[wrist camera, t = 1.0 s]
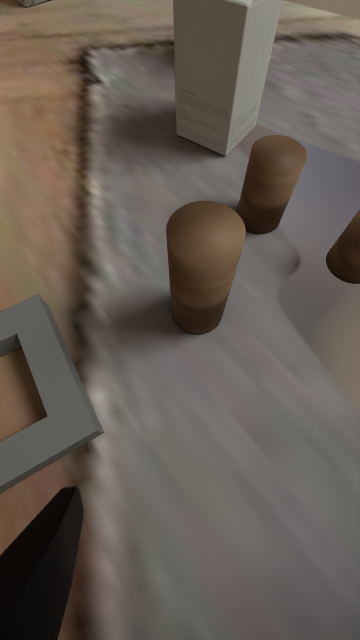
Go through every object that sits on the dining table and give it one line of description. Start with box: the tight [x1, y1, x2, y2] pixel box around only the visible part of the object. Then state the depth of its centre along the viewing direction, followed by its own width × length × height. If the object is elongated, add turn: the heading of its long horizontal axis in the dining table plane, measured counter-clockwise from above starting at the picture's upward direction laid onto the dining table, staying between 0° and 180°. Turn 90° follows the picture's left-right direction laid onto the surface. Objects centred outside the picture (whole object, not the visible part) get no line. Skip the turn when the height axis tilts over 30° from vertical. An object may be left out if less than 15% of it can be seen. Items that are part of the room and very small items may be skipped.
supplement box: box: [173, 0, 283, 156], centre depth 30 cm, size 7×7×13 cm
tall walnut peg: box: [166, 201, 246, 335], centre depth 21 cm, size 4×4×10 cm
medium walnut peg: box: [237, 135, 307, 234], centre depth 26 cm, size 4×4×7 cm
